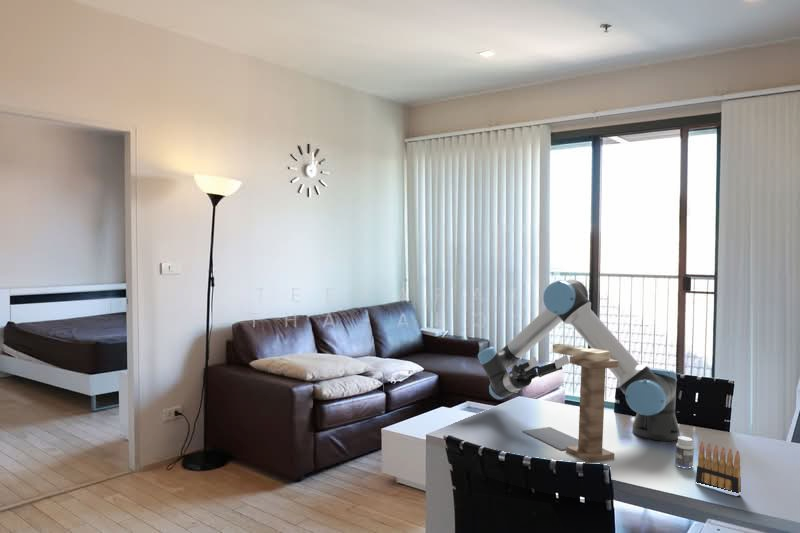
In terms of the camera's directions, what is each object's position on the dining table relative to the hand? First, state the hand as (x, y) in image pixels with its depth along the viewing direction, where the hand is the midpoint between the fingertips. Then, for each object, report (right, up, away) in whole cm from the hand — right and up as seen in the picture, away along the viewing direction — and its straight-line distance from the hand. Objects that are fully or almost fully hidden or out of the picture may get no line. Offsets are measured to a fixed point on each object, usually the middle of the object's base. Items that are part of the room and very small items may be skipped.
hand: (551, 359), depth 193 cm
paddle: (+5, +3, -14) cm, 15 cm away
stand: (+7, -27, -17) cm, 32 cm away
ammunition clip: (+34, -28, -41) cm, 60 cm away
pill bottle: (+33, -28, -24) cm, 49 cm away
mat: (+1, -26, -2) cm, 26 cm away
